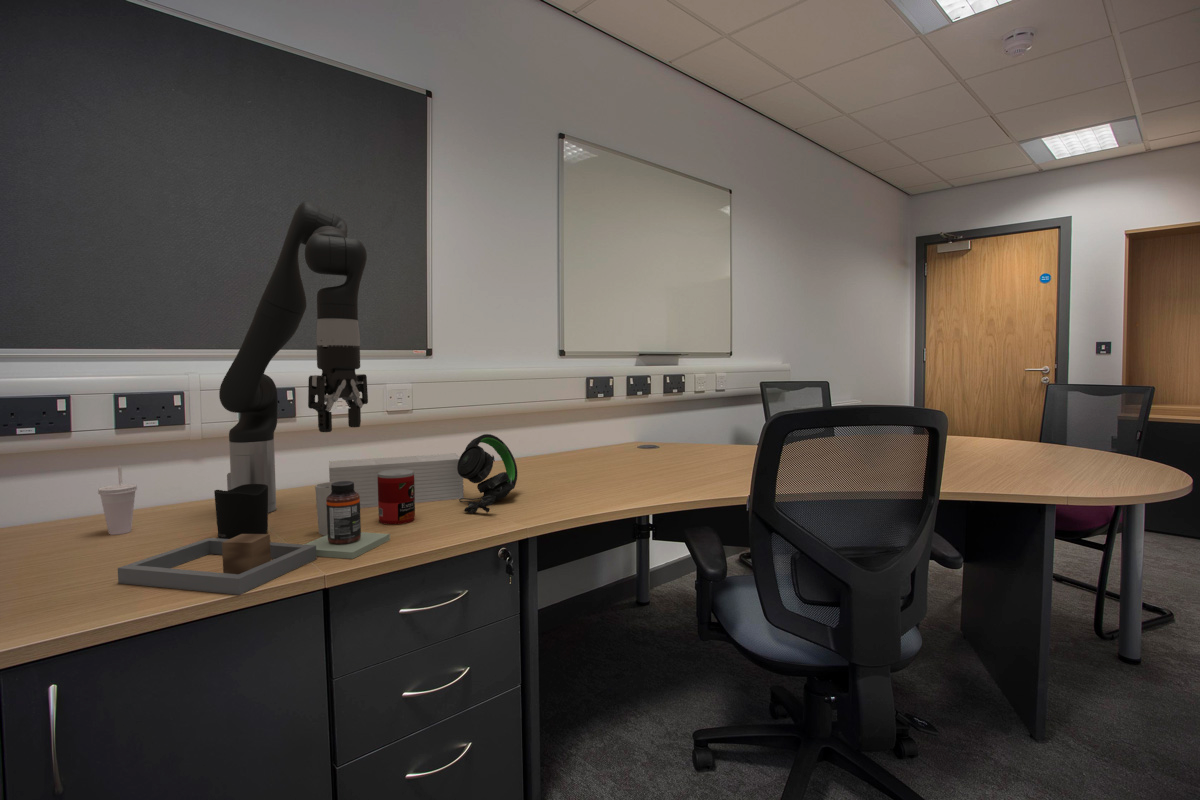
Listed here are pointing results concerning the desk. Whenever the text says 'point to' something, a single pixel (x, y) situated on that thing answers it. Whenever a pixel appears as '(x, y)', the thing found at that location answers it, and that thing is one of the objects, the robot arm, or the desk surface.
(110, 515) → the smoothie
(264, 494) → the pen holder
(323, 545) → the green board
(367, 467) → the grey ridged block
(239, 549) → the walnut block
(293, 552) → the parts tray
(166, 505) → the desk surface
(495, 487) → the headset
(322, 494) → the grey cup
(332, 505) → the supplement bottle
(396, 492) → the canned food
